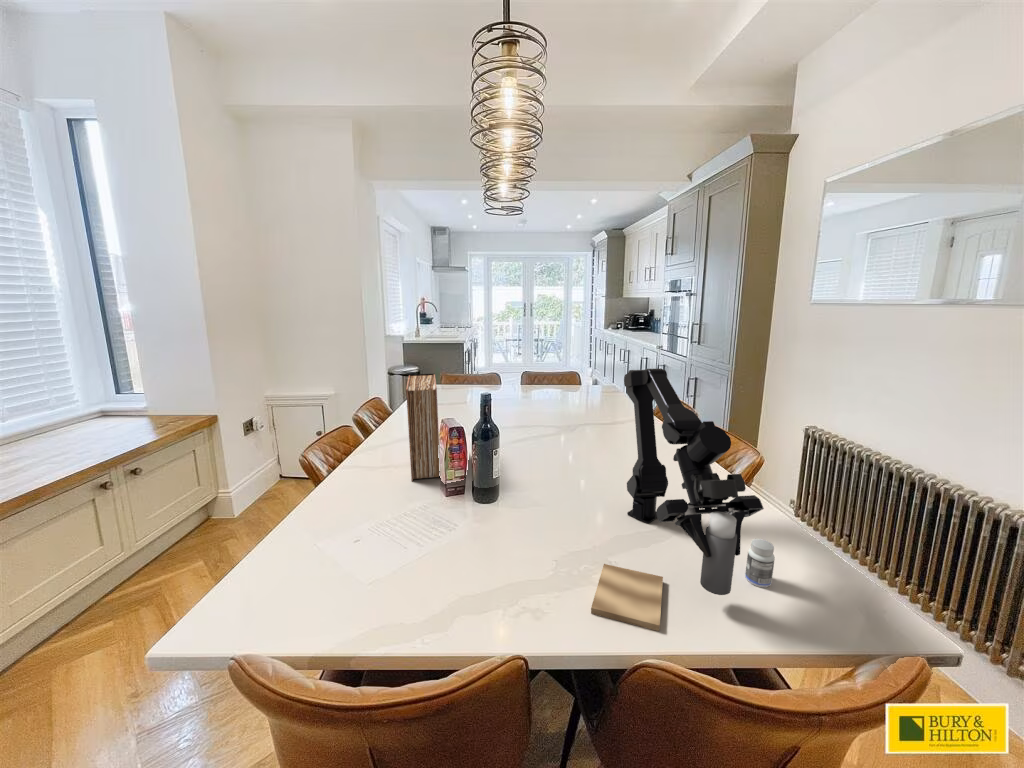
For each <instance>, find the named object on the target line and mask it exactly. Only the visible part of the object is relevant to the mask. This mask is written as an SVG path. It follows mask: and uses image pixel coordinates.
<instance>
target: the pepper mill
mask: <svg viewBox="0 0 1024 768" xmlns="http://www.w3.org/2000/svg"><path fill="white" fill-rule="evenodd" d="M708 518H709V519H708V526H706V527H705V531H704V534H705V537H706V540H707V543H708V546H709V549H710V554H711V557H709V558H707V557H706V556H705V555H704V554H703V553H702V564H701V569H700V581H699V583H700V586H701V587H702V588H703V589H704V590H706V591H707V592H709V593H710V594H713V595H718V596H726V595H729V594H730V593H731V591H732V582H733V576H734V574H733V573H734V566H735V558H736V557H735V556H736V555H735V551H736V543H737V534H736V533H735V530H736V521H737V520H736V518H735V517H734V516H732V515H730V514H728V513H725V512H718V511H716V512H712V513H710V514H709V516H708Z"/></svg>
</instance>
